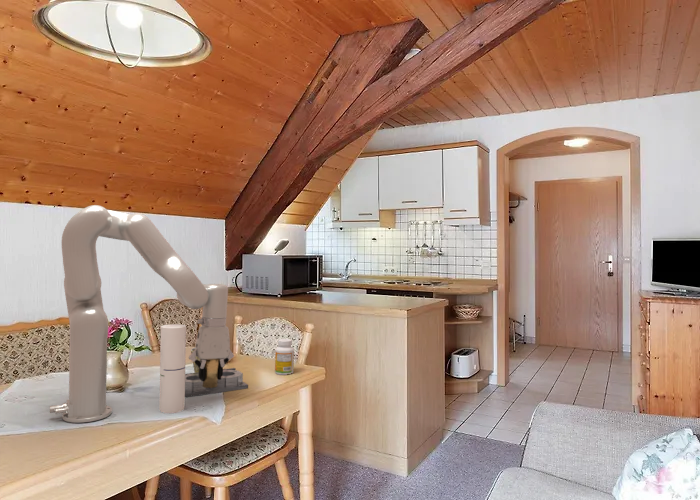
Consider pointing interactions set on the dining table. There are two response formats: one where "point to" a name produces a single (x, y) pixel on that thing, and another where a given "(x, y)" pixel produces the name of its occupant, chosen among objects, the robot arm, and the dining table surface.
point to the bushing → (211, 373)
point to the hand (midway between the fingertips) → (210, 378)
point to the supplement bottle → (284, 357)
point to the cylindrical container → (172, 368)
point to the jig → (227, 383)
